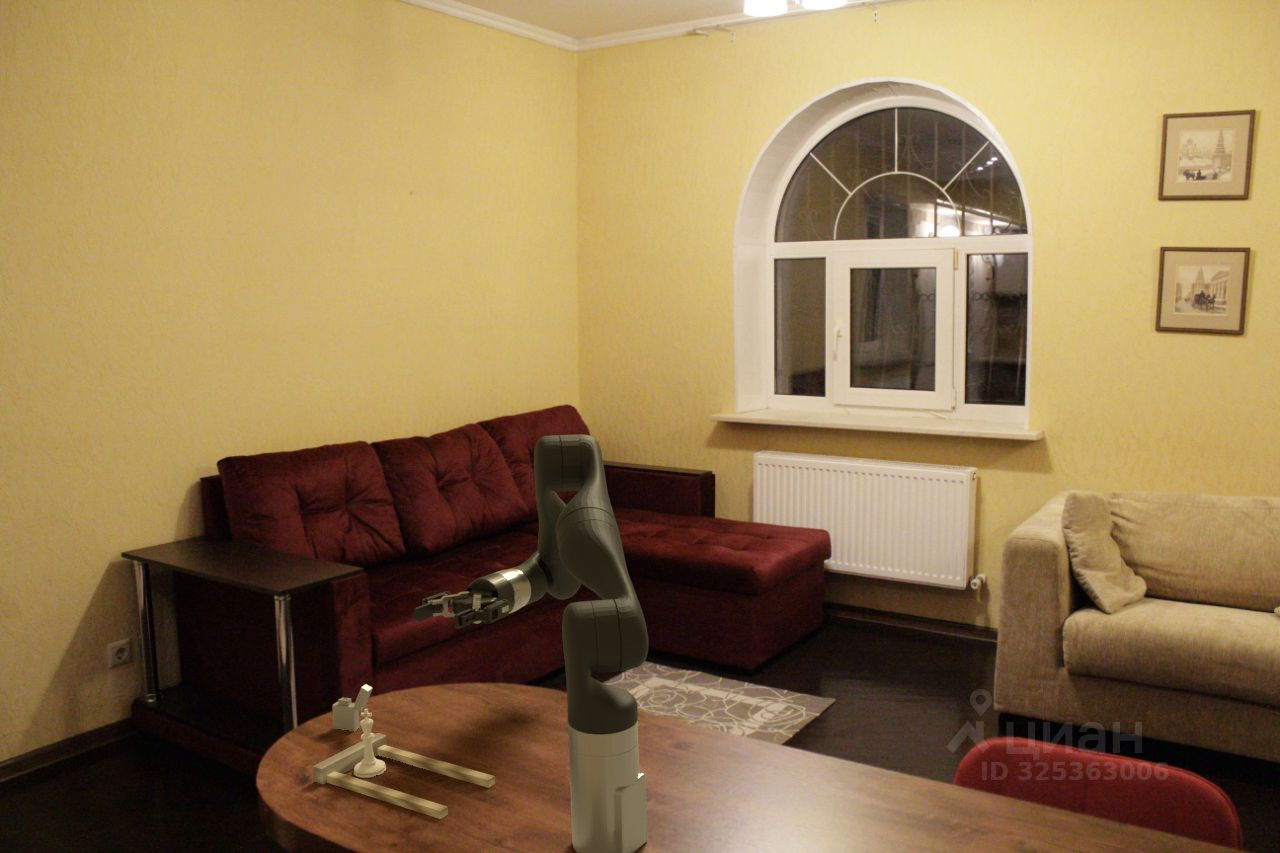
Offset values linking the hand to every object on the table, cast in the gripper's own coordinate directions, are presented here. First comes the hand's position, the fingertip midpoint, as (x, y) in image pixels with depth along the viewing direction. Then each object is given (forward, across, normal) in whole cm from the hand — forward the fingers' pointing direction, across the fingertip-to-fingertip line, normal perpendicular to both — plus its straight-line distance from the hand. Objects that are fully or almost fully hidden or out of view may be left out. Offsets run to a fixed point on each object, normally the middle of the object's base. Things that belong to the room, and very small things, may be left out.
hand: (435, 618), depth 167 cm
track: (+11, +2, +22) cm, 25 cm away
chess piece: (+10, -6, +22) cm, 25 cm away
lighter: (0, -19, +22) cm, 29 cm away
